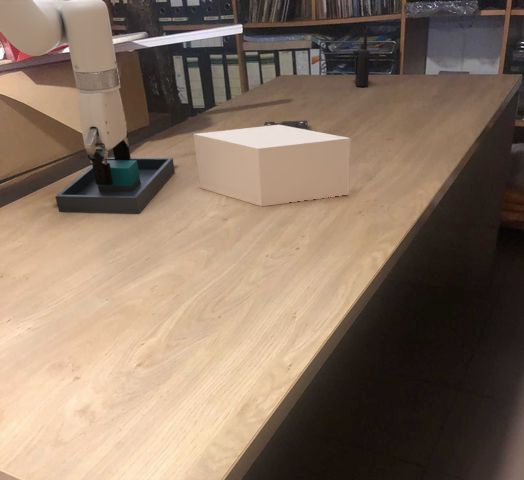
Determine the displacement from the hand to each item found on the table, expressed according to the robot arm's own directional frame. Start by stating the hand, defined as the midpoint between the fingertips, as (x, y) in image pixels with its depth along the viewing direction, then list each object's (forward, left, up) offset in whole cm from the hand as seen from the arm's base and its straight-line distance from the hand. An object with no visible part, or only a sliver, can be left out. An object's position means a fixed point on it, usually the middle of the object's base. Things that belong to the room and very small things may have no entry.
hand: (114, 175), depth 115 cm
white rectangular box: (+31, +1, -3) cm, 31 cm away
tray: (+1, 0, -3) cm, 3 cm away
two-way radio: (+43, +87, -3) cm, 97 cm away
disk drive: (+28, +32, -3) cm, 43 cm away
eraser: (+1, 0, -2) cm, 2 cm away
